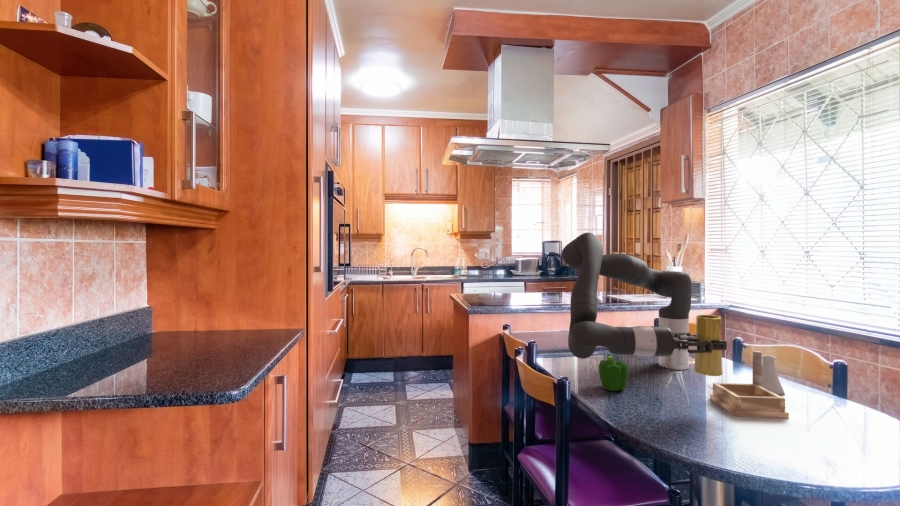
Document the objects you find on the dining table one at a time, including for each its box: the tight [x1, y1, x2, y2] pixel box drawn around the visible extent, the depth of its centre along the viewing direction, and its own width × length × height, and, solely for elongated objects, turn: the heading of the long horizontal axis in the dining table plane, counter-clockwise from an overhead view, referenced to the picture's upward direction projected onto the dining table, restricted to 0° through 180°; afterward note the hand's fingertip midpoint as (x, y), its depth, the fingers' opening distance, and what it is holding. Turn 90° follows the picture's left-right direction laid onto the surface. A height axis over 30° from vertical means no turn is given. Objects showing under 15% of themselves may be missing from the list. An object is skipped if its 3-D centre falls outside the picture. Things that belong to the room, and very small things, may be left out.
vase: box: [693, 314, 723, 377], centre depth 104 cm, size 6×6×14 cm
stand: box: [709, 350, 790, 419], centre depth 106 cm, size 12×13×13 cm
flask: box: [762, 354, 786, 396], centre depth 119 cm, size 7×7×10 cm
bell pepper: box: [598, 355, 630, 392], centre depth 121 cm, size 8×8×10 cm
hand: (718, 342), depth 104 cm, fingers closed on vase, 5 cm apart
